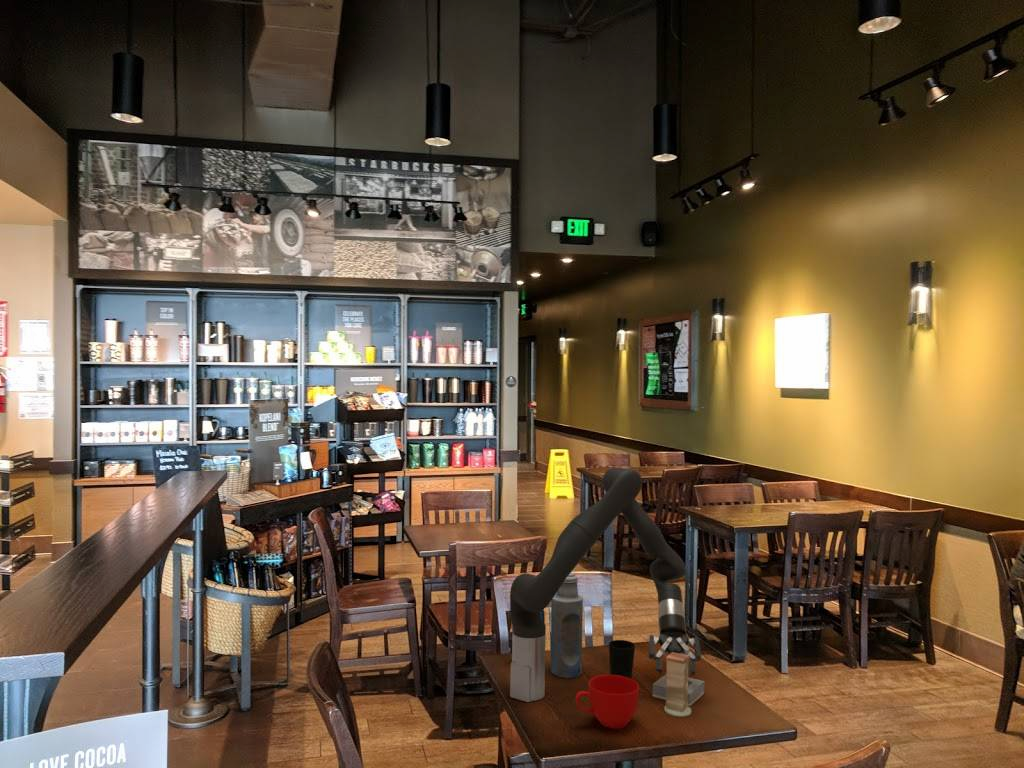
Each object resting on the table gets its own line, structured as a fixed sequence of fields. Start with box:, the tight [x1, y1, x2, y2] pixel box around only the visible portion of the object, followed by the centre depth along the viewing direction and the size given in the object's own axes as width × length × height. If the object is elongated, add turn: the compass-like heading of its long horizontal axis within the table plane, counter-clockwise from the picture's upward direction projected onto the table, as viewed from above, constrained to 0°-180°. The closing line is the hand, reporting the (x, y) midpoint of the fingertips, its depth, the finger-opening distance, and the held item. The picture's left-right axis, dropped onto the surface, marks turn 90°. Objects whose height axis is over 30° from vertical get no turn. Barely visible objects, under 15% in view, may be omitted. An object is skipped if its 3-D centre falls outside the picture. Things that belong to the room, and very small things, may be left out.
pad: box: [664, 705, 692, 718], centre depth 199 cm, size 7×7×1 cm
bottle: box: [549, 572, 584, 679], centre depth 226 cm, size 10×10×30 cm
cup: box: [608, 639, 636, 680], centre depth 216 cm, size 8×8×12 cm
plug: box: [665, 652, 689, 712], centre depth 200 cm, size 5×5×14 cm
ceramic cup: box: [575, 674, 640, 730], centre depth 191 cm, size 13×17×10 cm
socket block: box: [652, 673, 705, 707], centre depth 210 cm, size 11×11×3 cm
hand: (676, 673), depth 204 cm, fingers open, 8 cm apart
